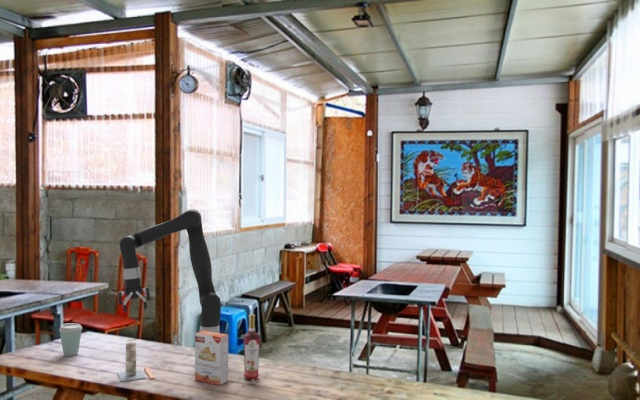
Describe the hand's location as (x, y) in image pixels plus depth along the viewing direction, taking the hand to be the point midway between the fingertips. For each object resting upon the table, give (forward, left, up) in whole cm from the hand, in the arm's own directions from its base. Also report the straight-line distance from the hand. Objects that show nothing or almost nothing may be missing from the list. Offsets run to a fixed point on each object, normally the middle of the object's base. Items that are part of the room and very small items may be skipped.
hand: (135, 311), depth 255 cm
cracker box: (-26, +40, -25) cm, 54 cm away
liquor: (-43, +44, -25) cm, 66 cm away
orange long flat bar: (-4, +18, -25) cm, 31 cm away
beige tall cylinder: (+4, +18, -25) cm, 31 cm away
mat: (+4, +18, -25) cm, 31 cm away
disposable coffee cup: (+26, -30, -25) cm, 47 cm away
